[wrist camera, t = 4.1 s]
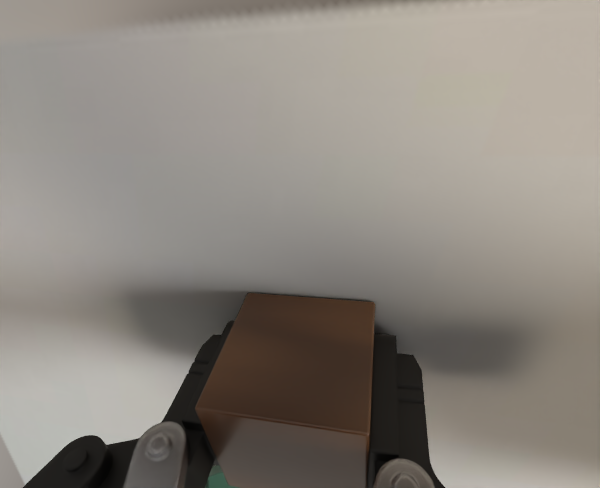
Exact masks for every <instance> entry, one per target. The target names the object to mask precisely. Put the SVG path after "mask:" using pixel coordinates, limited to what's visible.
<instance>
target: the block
mask: <svg viewBox="0 0 600 488" xmlns="http://www.w3.org/2000/svg"><path fill="white" fill-rule="evenodd" d="M374 322H375V303H374V302H366V301H353V300H339V299H326V298H313V297H299V296H286V295H272V294H259V293H248V294H247V296H246V298H245V300H244V302H243V304H242V306H241V309H240V311H239V313H238V315H237V317H236V319H235V322H234V324H233V326H232V328H231V330H230V333H229V335H228V337H227V339H226V341H225V343H224V346H223V348H222V350H221V352H220V354H219V356H218V359H217V361H216V363H215V365H214V367H213V369H212V372H211V374H210V376H209V378H208V380H207V383H206V385H205V387H204V389H203V391H202V393H201V396H200V398H199V400H198V402H197V404H196V406H195V411H196V413H197V415H198V417H199V420H200V422H201V424H202V427H203V429H204V431H205V433H206V436H207V438H208V440H209V442H210V445H211V447H212V449H213V452H214V454H215V456H216V458H217V461H218V463H219V465H220V467H221V470H222V472H223V474H224V477H225V479H226V481H227V483H228V485H230V486H235V487H240V488H367V486H368V465H369V443H370V420H371V395H372V371H373V346H374Z"/></svg>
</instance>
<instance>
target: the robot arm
mask: <svg viewBox="0 0 600 488" xmlns="http://www.w3.org/2000/svg"><path fill="white" fill-rule="evenodd" d="M234 322H235V320H230V321H229V322H228V323H227V325H226V327H225V329H224V332H223V334H222V335H213V336H212V337H211V338H210V339H209V340H207V341H206V342H205V343H204V344H203V345H202V347H201V349H200V350H199V352H198V354H197V356H196V358H195V362H193V364H192V366H191V368H190V370H189V374H187V376H186V377H185V379H184V381H183V383H182V385H181V387H180V389H179V391H178V393H177V395H176V397H175V399H174V401H173V403H172V405H171V406H170V408H169V410H168V412H167V414H166V416H165V418H164V419H163V421H162V422H161V423H159V424H156V425H154V426H153V427H151V428H150V429H148V430H147V431H146V432H145V433H144V434H143V435H142V436H141V438H138V439H135V440H130V441H125V442H120V443H115V444H109V445H106V444H105V443H104V442H103V440H102V439H101V438H99V437H97V436H93V435H89V436H84V437H80V438H78V439H76V440H74V441H72V442H71V443H69V444H68V445H67V446H66V447H64V448H63V449H62V450H61V451H60V452H59V453H58V454H57V455H56V456H55V457H54V458H53V459H52V460H51V461H50V462H49V463H48V464H47V465H46V466H45V467H44V468H43V469H41V470H40V471H39V472H38V473H37V474H36V475H35V476H34V477H33V478H32V479H31V480H30V481H29V482H28V483H27V484H26V485H25V486H24V487H23V488H209V481H208V477H209V474H210V471H211V469H212V466H213V465H218V466H220V465H219V463H218V461H217V458H216V456H215V454H214V452H213V449H212V447H211V445H210V442H209V440H208V438H207V436H206V433H205V431H204V429H203V427H202V424H201V422H200V420H199V417H198V415H197V413H196V411H195V406H196V404H197V402H198V400H199V398H200V396H201V393H202V391H203V389H204V387H205V385H206V383H207V380H208V378H209V376H210V374H211V372H212V369H213V367H214V365H215V363H216V361H217V359H218V356H219V354H220V352H221V350H222V348H223V346H224V343H225V341H226V339H227V337H228V335H229V333H230V330H231V328H232V326H233V324H234ZM367 488H445V487H444V486H443V485H442V484H441V482H440V481H439V480H438V478H437V477H436V475H435V474H434V471H433V469H432V467H431V463H430V459H429V449H428V438H427V426H426V415H425V405H424V392H423V381H422V370H421V368H420V367H419V365H418V363H417V361H416V359H415V358H414V356H413V355H407V354H398V353H397V349H396V336H395V335H384V334H374V346H373V371H372V395H371V420H370V443H369V465H368V486H367Z"/></svg>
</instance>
